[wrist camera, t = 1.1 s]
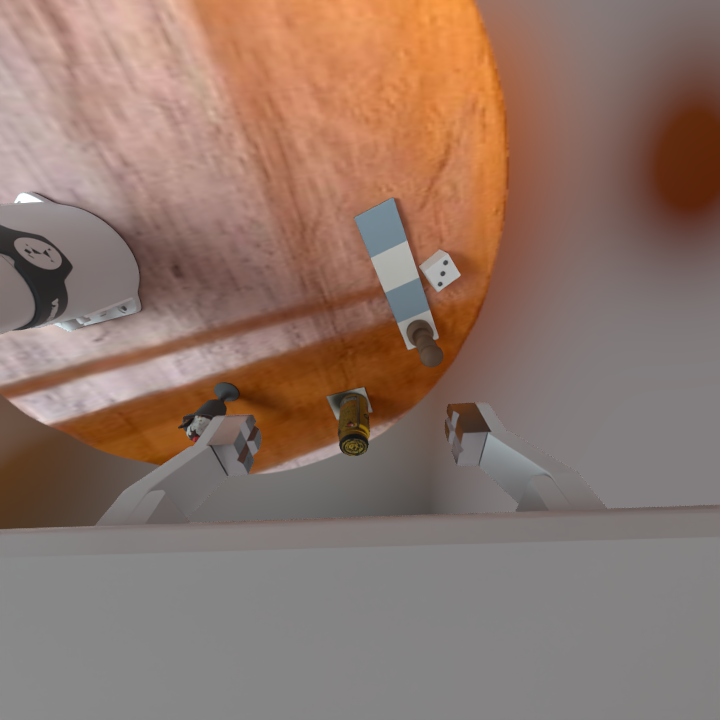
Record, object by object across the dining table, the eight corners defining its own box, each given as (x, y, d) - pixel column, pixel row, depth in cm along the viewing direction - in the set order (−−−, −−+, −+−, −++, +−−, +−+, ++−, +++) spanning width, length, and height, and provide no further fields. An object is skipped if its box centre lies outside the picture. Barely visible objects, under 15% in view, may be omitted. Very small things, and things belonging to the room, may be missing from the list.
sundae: (247, 403, 56) (214, 462, 43) (216, 404, 56) (174, 464, 43) (238, 378, 52) (200, 434, 39) (205, 379, 52) (156, 436, 39)
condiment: (372, 411, 57) (376, 456, 47) (337, 419, 59) (333, 464, 48) (364, 386, 54) (366, 428, 44) (326, 395, 55) (319, 439, 45)
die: (431, 285, 43) (438, 292, 40) (418, 266, 42) (424, 271, 38) (452, 269, 42) (461, 275, 38) (439, 249, 40) (448, 253, 37)
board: (407, 347, 49) (408, 350, 48) (354, 217, 38) (354, 217, 37) (437, 335, 48) (439, 338, 47) (392, 197, 37) (393, 197, 36)
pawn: (410, 345, 48) (424, 378, 39) (402, 325, 46) (415, 355, 36) (433, 336, 47) (452, 367, 38) (426, 315, 45) (445, 343, 36)
